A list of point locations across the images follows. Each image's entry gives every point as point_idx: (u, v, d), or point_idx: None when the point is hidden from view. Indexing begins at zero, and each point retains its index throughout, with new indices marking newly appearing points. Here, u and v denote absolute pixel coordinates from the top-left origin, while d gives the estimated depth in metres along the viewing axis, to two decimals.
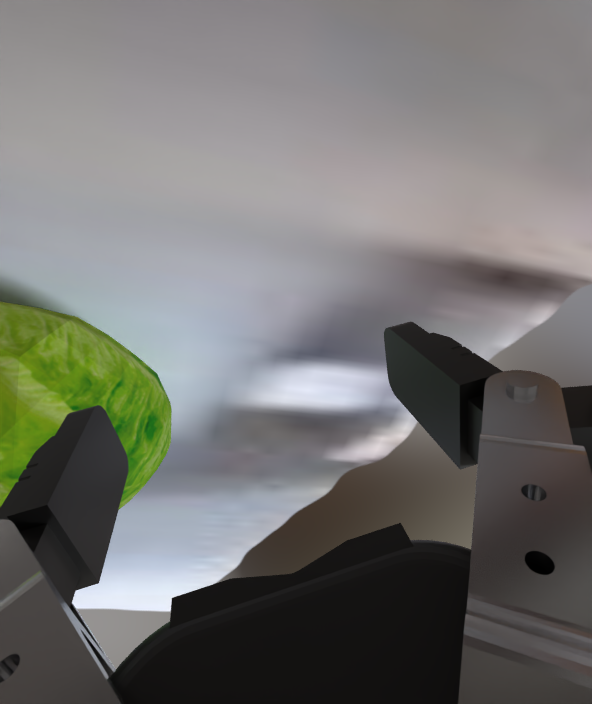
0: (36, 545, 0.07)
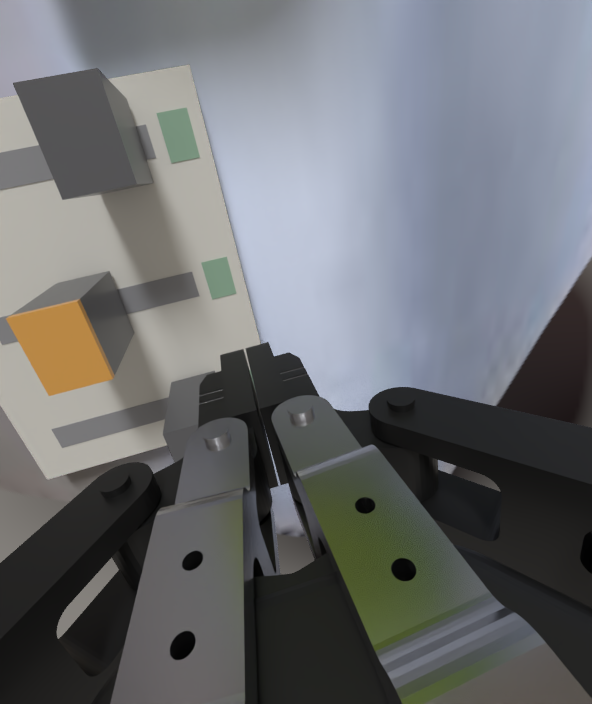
0: (255, 440, 0.08)
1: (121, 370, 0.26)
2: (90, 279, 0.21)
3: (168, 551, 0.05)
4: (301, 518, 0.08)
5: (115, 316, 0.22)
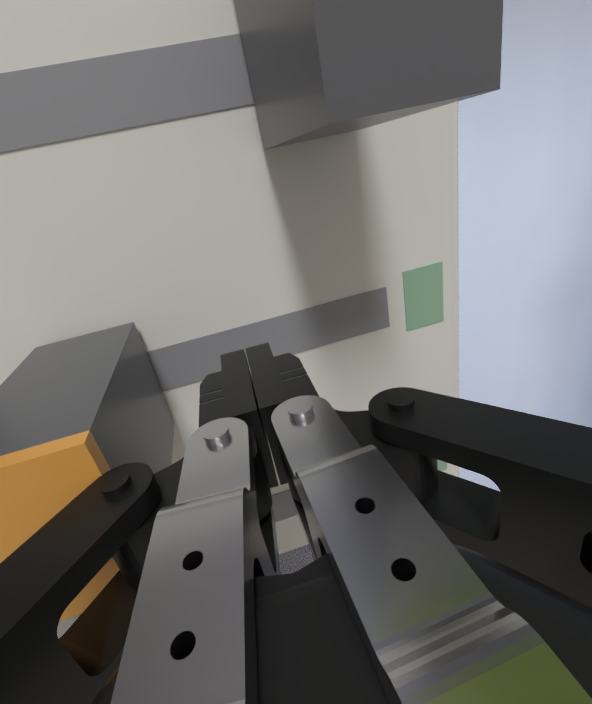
0: (255, 439, 0.08)
1: None
2: (101, 345, 0.11)
3: (168, 551, 0.05)
4: (301, 518, 0.08)
5: (150, 415, 0.11)
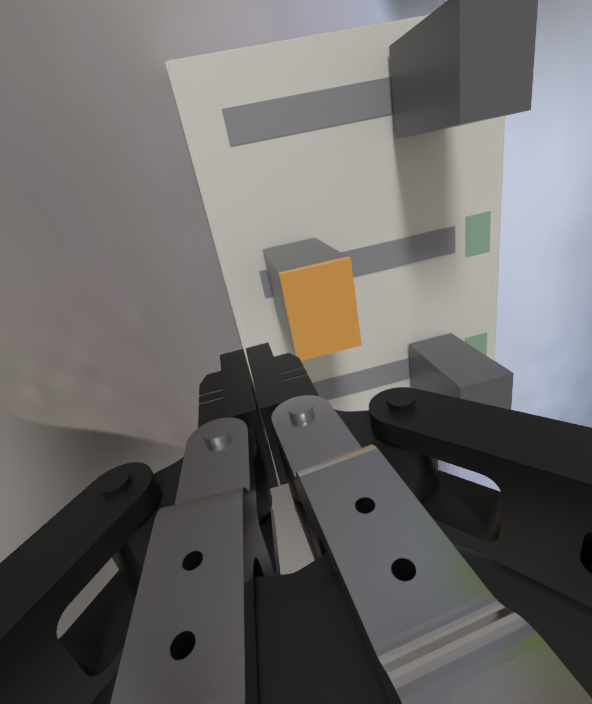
0: (255, 440, 0.08)
1: (364, 329, 0.25)
2: (308, 244, 0.20)
3: (168, 551, 0.05)
4: (301, 518, 0.08)
5: None
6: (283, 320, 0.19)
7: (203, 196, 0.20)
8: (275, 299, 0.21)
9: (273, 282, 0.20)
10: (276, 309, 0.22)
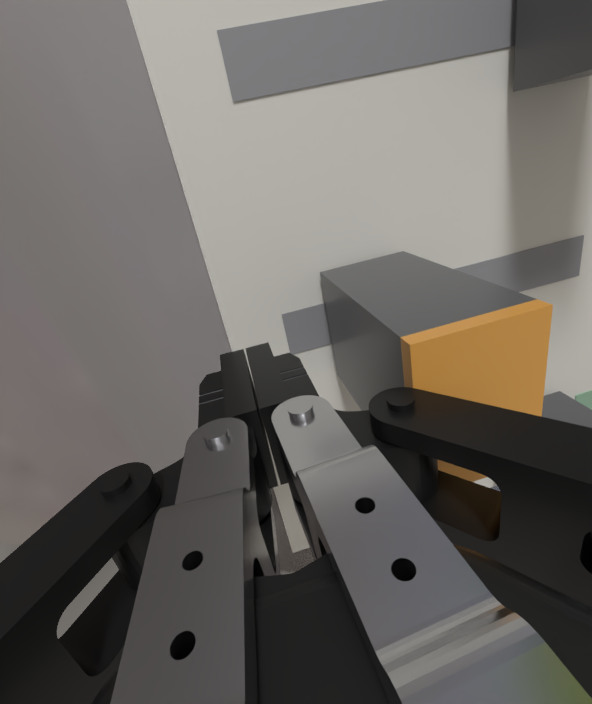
0: (255, 440, 0.08)
1: None
2: (403, 264, 0.12)
3: (168, 551, 0.05)
4: (301, 518, 0.08)
5: None
6: None
7: (187, 193, 0.11)
8: (343, 355, 0.13)
9: (350, 333, 0.11)
10: (339, 366, 0.14)
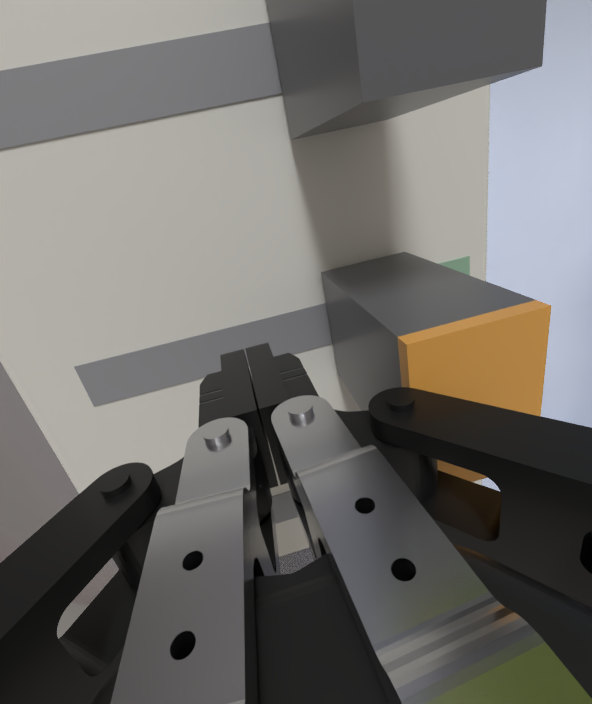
0: (255, 439, 0.08)
1: None
2: (404, 264, 0.12)
3: (168, 551, 0.05)
4: (301, 518, 0.08)
5: None
6: (369, 400, 0.11)
7: None
8: (344, 355, 0.13)
9: (349, 333, 0.11)
10: (340, 366, 0.14)
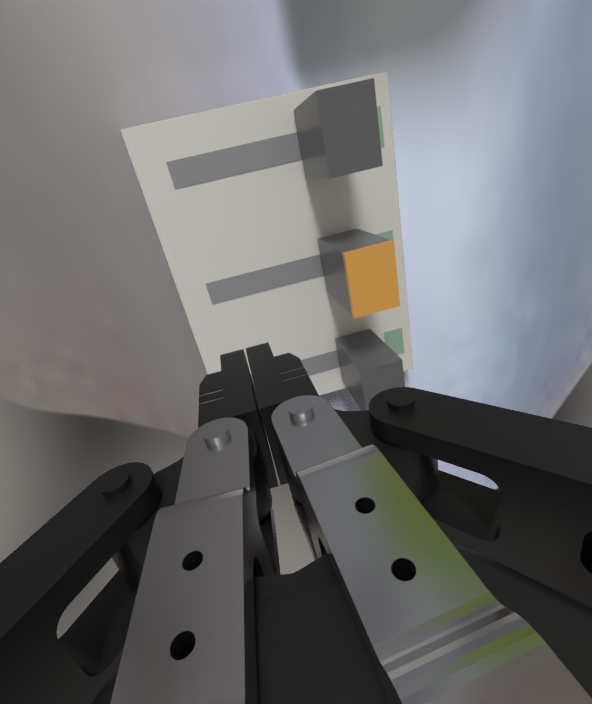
0: (255, 440, 0.08)
1: (296, 327, 0.31)
2: (354, 233, 0.27)
3: (168, 551, 0.05)
4: (301, 518, 0.08)
5: None
6: (338, 291, 0.26)
7: (156, 227, 0.26)
8: (328, 276, 0.28)
9: (329, 262, 0.26)
10: (327, 285, 0.29)
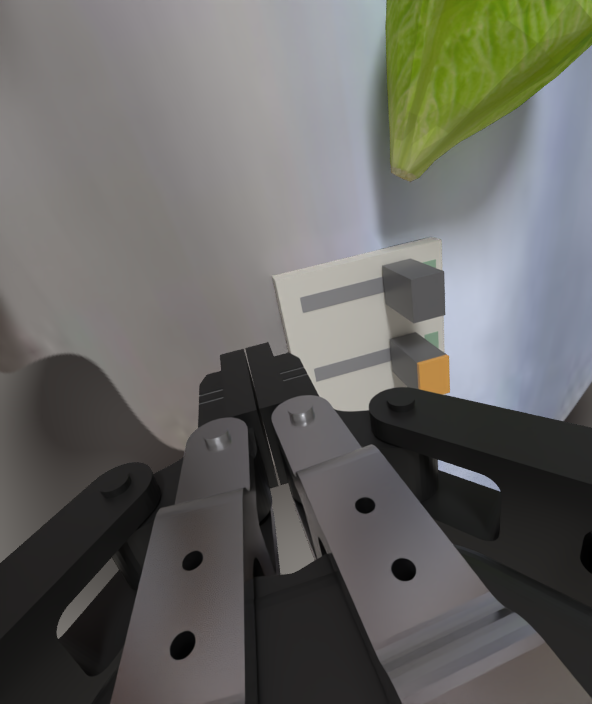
0: (255, 440, 0.08)
1: (369, 394, 0.44)
2: (416, 338, 0.40)
3: (168, 551, 0.05)
4: (301, 518, 0.08)
5: None
6: (406, 378, 0.39)
7: (288, 336, 0.39)
8: (397, 365, 0.41)
9: (401, 359, 0.40)
10: (394, 368, 0.42)
